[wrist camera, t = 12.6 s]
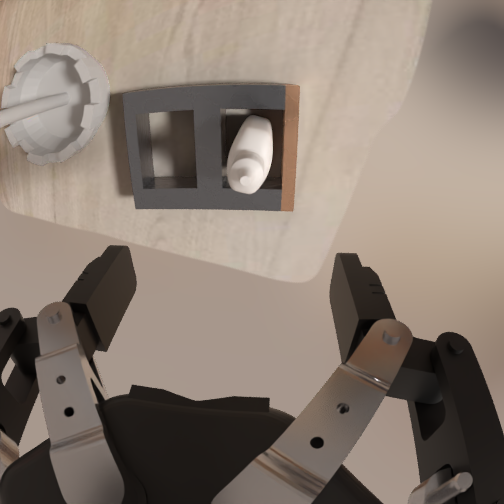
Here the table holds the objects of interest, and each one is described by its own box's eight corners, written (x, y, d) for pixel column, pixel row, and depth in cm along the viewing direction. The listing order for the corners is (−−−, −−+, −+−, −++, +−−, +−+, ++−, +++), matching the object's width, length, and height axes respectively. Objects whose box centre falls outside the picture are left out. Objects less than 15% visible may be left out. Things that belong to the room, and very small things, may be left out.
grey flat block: (136, 90, 28) (122, 93, 25) (296, 84, 27) (299, 86, 24) (146, 196, 34) (135, 209, 31) (291, 197, 34) (293, 211, 31)
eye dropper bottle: (218, 147, 31) (193, 189, 21) (256, 107, 29) (249, 127, 19) (250, 174, 32) (241, 228, 22) (288, 136, 30) (299, 173, 20)
